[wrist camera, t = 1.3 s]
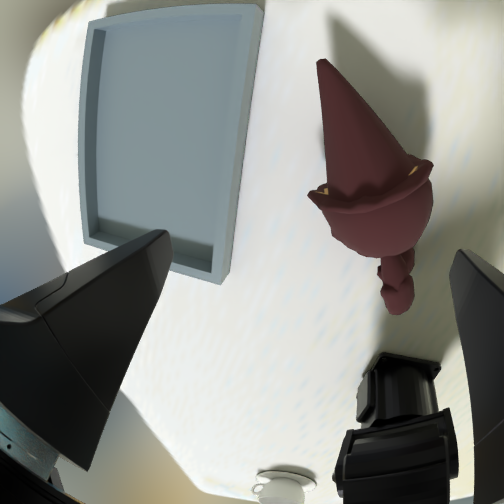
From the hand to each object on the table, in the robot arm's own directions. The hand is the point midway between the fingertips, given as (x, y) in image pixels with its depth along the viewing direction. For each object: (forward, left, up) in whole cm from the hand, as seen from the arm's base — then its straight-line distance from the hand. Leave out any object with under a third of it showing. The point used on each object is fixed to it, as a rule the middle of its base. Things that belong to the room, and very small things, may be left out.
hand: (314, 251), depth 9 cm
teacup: (-7, +46, -13) cm, 49 cm away
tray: (+13, 0, -12) cm, 18 cm away
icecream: (-3, 0, -13) cm, 13 cm away
